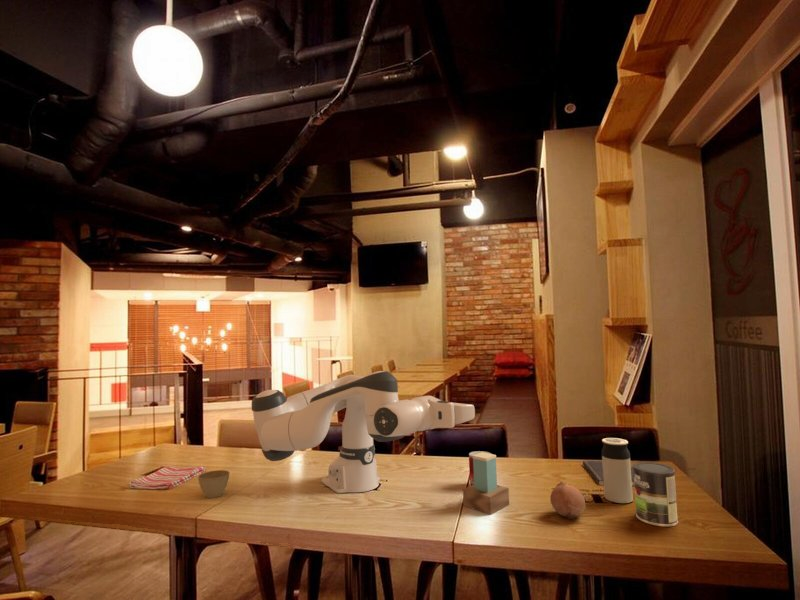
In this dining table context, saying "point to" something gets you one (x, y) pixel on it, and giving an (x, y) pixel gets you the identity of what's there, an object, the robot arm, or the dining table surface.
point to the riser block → (486, 499)
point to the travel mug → (617, 470)
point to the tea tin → (485, 472)
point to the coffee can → (655, 494)
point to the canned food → (472, 465)
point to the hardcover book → (600, 471)
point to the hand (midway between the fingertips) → (457, 405)
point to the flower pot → (213, 482)
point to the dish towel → (166, 478)
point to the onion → (567, 500)
